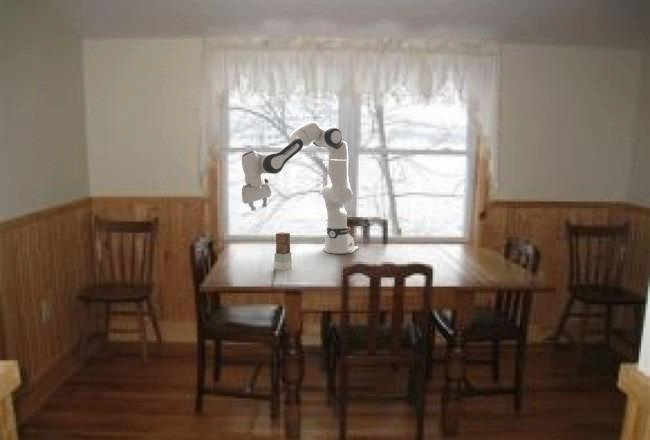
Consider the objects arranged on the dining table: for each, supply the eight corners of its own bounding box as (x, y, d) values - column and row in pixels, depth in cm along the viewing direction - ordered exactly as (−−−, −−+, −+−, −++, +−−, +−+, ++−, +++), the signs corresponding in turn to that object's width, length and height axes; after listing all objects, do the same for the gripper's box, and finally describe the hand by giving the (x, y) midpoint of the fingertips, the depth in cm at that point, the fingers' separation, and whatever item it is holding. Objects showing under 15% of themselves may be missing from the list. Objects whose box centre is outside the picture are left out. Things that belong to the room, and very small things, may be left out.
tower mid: (281, 259, 279) (281, 251, 279) (291, 260, 276) (291, 252, 276) (274, 261, 274) (274, 253, 273) (284, 262, 271) (284, 254, 271)
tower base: (281, 266, 280) (281, 259, 279) (291, 267, 277) (291, 260, 276) (275, 269, 275) (275, 261, 274) (285, 270, 272) (284, 262, 271)
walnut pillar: (281, 251, 278) (281, 232, 276) (290, 252, 275) (289, 233, 274) (276, 253, 274) (275, 233, 272) (284, 254, 271) (284, 234, 270)
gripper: (246, 185, 274) (251, 212, 276) (270, 179, 291) (275, 204, 293) (236, 186, 277) (242, 213, 279) (261, 180, 294) (266, 205, 296)
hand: (259, 208), depth 286 cm, fingers open, 8 cm apart
